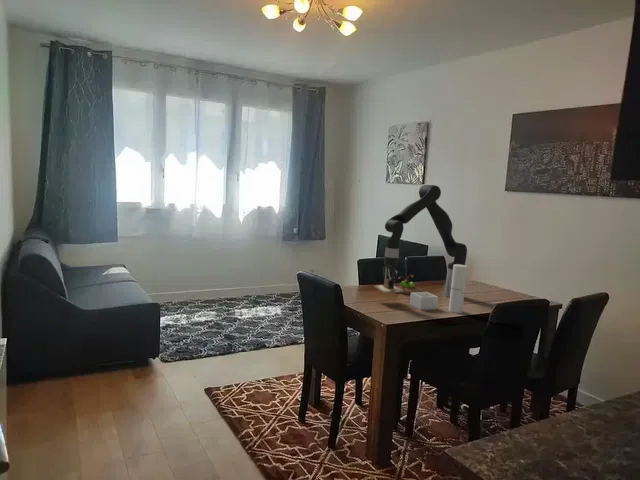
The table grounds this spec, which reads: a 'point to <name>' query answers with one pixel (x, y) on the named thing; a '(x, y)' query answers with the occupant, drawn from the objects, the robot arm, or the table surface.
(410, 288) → the plant
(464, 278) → the cylindrical container
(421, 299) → the off-white box
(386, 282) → the oak lid
